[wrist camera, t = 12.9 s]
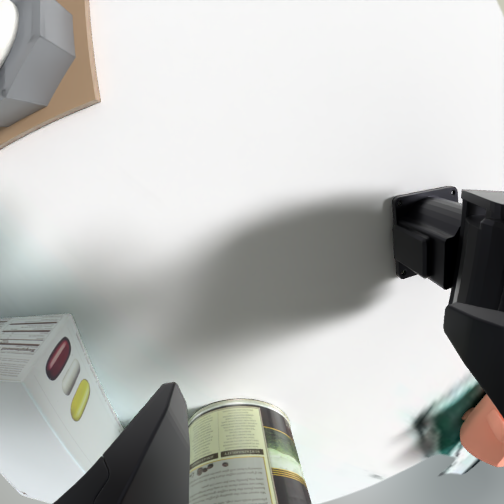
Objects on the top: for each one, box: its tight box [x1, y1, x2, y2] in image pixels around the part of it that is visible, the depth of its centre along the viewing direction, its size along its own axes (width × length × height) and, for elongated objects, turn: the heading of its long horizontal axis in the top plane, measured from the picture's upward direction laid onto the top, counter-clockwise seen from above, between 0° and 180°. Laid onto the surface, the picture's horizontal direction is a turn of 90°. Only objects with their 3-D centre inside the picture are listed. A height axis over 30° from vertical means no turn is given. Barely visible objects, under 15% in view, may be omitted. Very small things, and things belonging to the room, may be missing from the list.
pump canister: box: [0, 0, 101, 149], centre depth 12 cm, size 11×11×6 cm
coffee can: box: [188, 399, 312, 504], centre depth 20 cm, size 10×10×14 cm
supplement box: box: [0, 313, 124, 504], centre depth 19 cm, size 17×13×9 cm
